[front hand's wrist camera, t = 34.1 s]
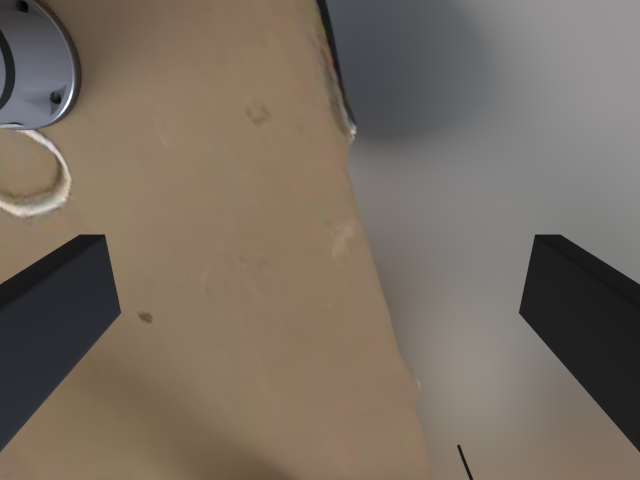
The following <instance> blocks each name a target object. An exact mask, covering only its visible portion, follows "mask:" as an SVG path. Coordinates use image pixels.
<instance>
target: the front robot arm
mask: <svg viewBox="0 0 640 480" xmlns="http://www.w3.org/2000/svg"><path fill="white" fill-rule="evenodd" d="M80 87H81V66H80V61H79V57H78V53H77V50H76V47H75V45H74V43H73V41H72V38H71V37H70V35H69V33H68V31H67V30H66V28H65V27H64V25H63V24H62V23H61V22H60V20H59V19H58V18H57V17H56V16H55V15H54V14H53V13H52V12H51V11H50V10H49V9H48V8H47V7H46V6H45V5H43V4H42V3H41V2H39V1H38V0H0V128H1V127H4V128H8V129H13V130H31V129H38V128H43V127H47V126H50V125H53V124H55V123H57V122H58V121H60V120H62V119H63V118H64V117H65V116H66V115H67V114H68V113H69V112H70V111H71V109H72V108H73V106H74V105H75V103H76V101H77V98H78V95H79V92H80ZM120 314H121V310H120V305H119V300H118V296H117V291H116V286H115V281H114V276H113V272H112V267H111V262H110V257H109V252H108V247H107V243H106V238H105V235H78V236H77V237H75V238H74V239H72V240H70V241H69V242H67V243H66V244H64V245H62V246H61V247H59V248H58V249H56V250H54V251H53V252H51V253H50V254H48V255H46V256H45V257H43V258H42V259H40V260H38V261H37V262H35V263H34V264H32V265H31V266H29V267H27V268H26V269H24V270H23V271H21V272H19V273H18V274H16V275H15V276H13V277H11V278H10V279H8V280H7V281H5V282H3V283H2V284H0V452H1V451H2V449H3V448H4V447H5V446H6V445H7V444H8V443H9V441H10V440H11V439H12V438H13V437H14V436H15V435H16V433H17V432H18V431H19V430H20V429H21V428H22V426H23V425H24V424H25V423H26V422H27V421H28V420H29V418H30V417H31V416H32V415H33V414H34V413H35V411H36V410H37V409H38V408H39V407H40V406H41V405H42V403H43V402H44V401H45V400H46V399H47V398H48V396H49V395H50V394H51V393H52V392H53V391H54V390H55V388H56V387H57V386H58V385H59V384H60V383H61V382H62V380H63V379H64V378H65V377H66V376H67V375H68V373H69V372H70V371H71V370H72V369H73V368H74V367H75V365H76V364H77V363H78V362H79V361H80V360H81V358H82V357H83V356H84V355H85V354H86V353H87V352H88V350H89V349H90V348H91V347H92V346H93V345H94V344H95V342H96V341H97V340H98V339H99V338H100V337H101V335H102V334H103V333H104V332H105V331H106V330H107V329H108V327H109V326H110V325H111V324H112V323H113V322H114V320H115V319H116V318H117V317H118V316H119V315H120ZM519 314H520V315H521V316H522V317H523V318H524V319H525V320H526V322H527V323H528V324H529V325H530V326H531V327H532V329H533V330H534V331H535V332H536V333H537V334H538V335H539V337H540V338H541V339H542V340H543V341H544V342H545V343H546V345H547V346H548V347H549V348H550V349H551V350H552V352H553V353H554V354H555V355H556V356H557V357H558V358H559V360H560V361H561V362H562V363H563V364H564V365H565V366H566V368H567V369H568V370H569V371H570V372H571V373H572V375H573V376H574V377H575V378H576V379H577V380H578V381H579V383H580V384H581V385H582V386H583V387H584V388H585V390H586V391H587V392H588V393H589V394H590V395H591V396H592V398H593V399H594V400H595V401H596V402H597V403H598V405H599V406H600V407H601V408H602V409H603V410H604V411H605V413H606V414H607V415H608V416H609V417H610V418H611V420H612V421H613V422H614V423H615V424H616V425H617V426H618V428H619V429H620V430H621V431H622V432H623V433H624V434H625V436H626V437H627V438H628V439H629V440H630V441H631V443H632V444H633V445H634V446H635V447H636V448H637V449H638V451H639V452H640V284H638V283H637V282H635V281H633V280H632V279H630V278H629V277H627V276H625V275H624V274H622V273H621V272H619V271H617V270H616V269H614V268H613V267H611V266H609V265H608V264H606V263H605V262H603V261H602V260H600V259H598V258H597V257H595V256H594V255H592V254H590V253H589V252H587V251H586V250H584V249H582V248H581V247H579V246H578V245H576V244H574V243H573V242H571V241H570V240H568V239H566V238H565V237H563V236H562V235H535V238H534V243H533V247H532V252H531V257H530V262H529V267H528V272H527V276H526V281H525V286H524V291H523V296H522V300H521V305H520V310H519Z"/></svg>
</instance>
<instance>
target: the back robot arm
mask: <svg viewBox="0 0 640 480" xmlns="http://www.w3.org/2000/svg"><path fill="white" fill-rule="evenodd" d="M457 447H458V450H459V453H460V456H461V459H462V461H463V464H464V467H465V469H466V472H467V474H468V477H469V479H470V480H473V477H472V475H471V472H470V470H469V467H468V465H467V462H466V460H465V457H464V454H463V452H462V449H461V446H460V445H457Z"/></svg>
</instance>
